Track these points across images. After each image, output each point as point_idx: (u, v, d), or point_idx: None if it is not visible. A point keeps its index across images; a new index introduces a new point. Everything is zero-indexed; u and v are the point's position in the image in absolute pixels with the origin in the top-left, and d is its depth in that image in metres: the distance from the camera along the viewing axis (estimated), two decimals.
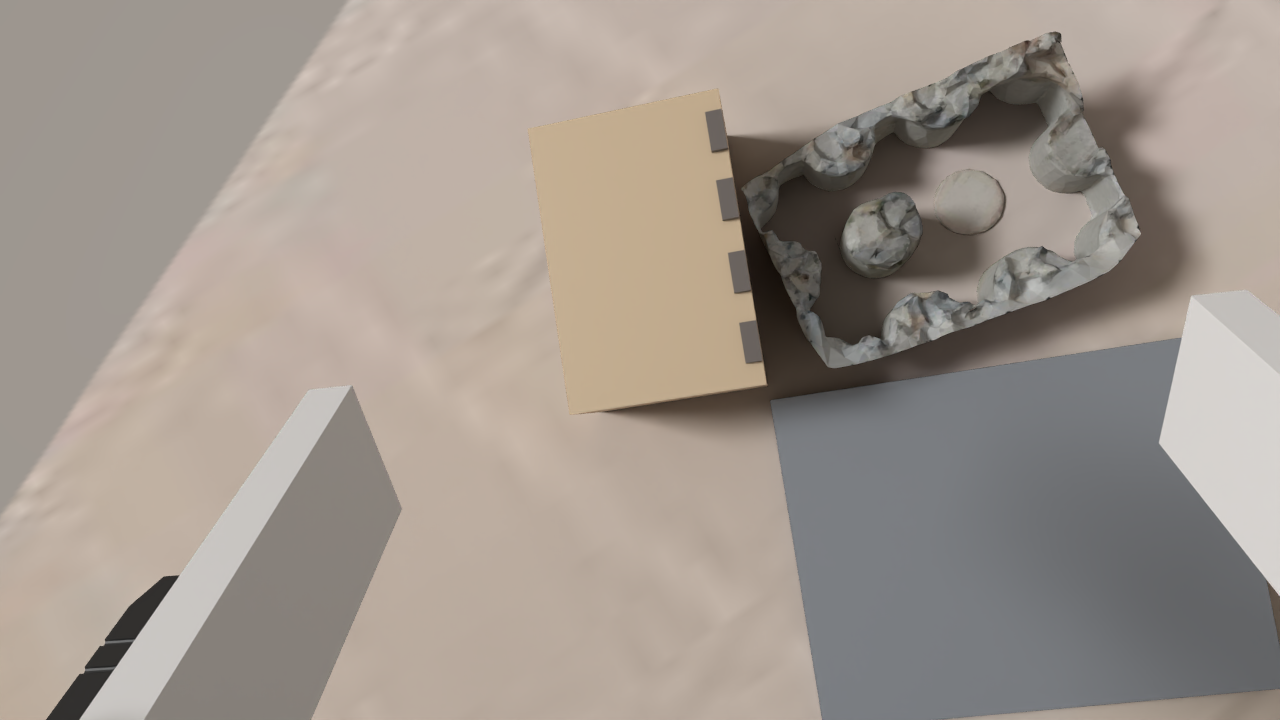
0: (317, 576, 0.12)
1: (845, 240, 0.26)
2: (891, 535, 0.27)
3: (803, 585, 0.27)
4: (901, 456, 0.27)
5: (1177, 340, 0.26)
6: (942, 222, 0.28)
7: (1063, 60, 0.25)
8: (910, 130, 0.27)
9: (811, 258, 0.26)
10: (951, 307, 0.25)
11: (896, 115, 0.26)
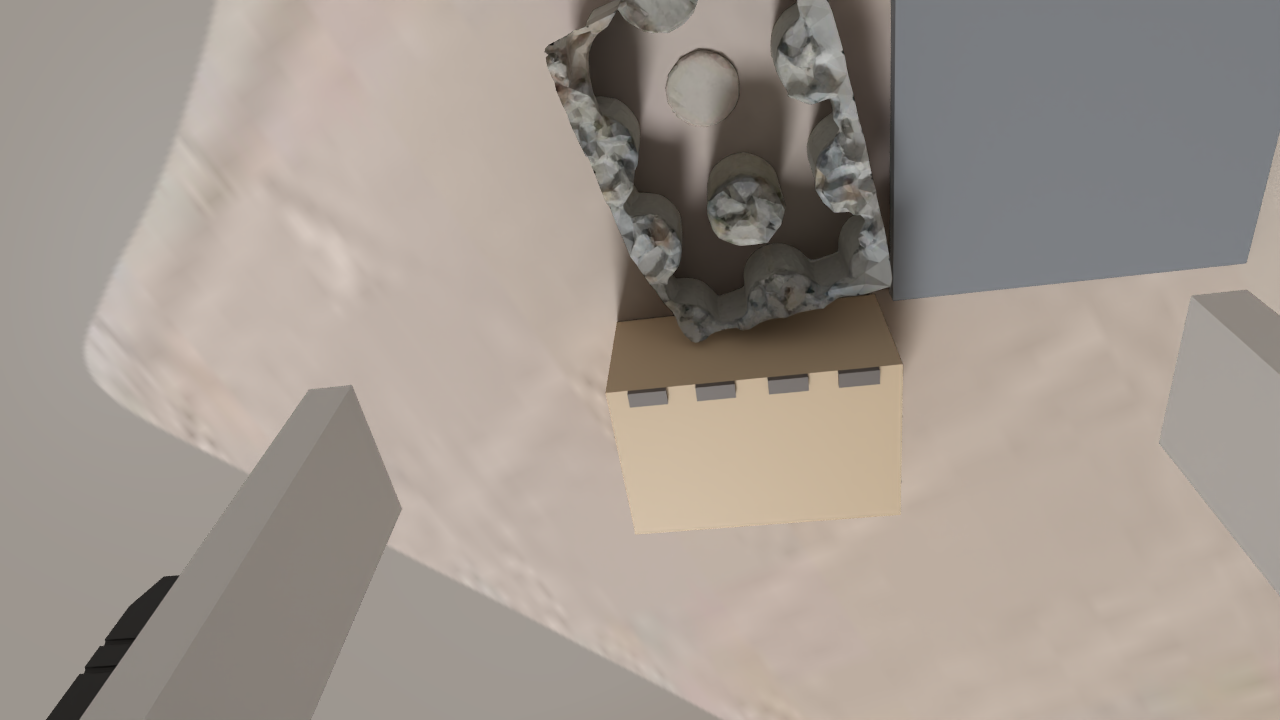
0: (317, 576, 0.12)
1: (749, 244, 0.26)
2: (1059, 192, 0.25)
3: (1090, 277, 0.27)
4: (976, 179, 0.25)
5: None
6: (723, 118, 0.25)
7: (571, 34, 0.22)
8: None
9: (769, 285, 0.26)
10: (838, 153, 0.23)
11: (624, 202, 0.24)
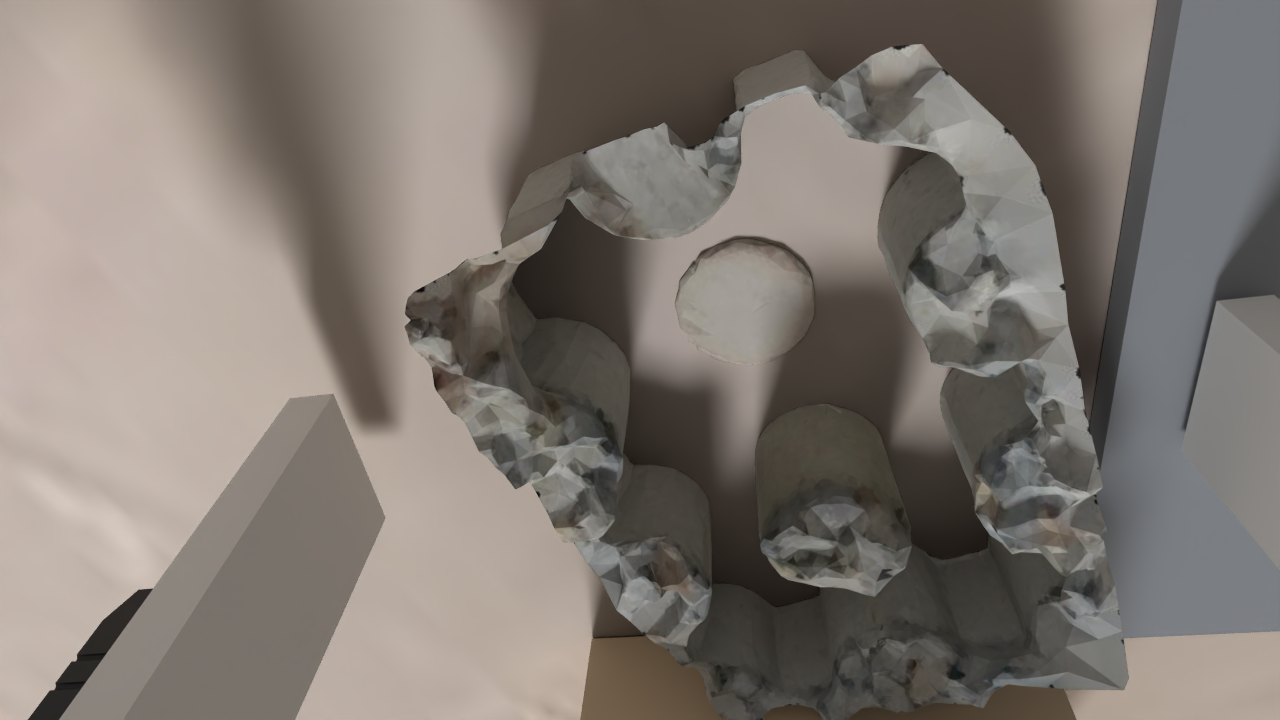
0: (295, 589, 0.12)
1: None
2: None
3: None
4: None
5: None
6: (785, 352, 0.14)
7: (464, 264, 0.10)
8: None
9: (877, 659, 0.14)
10: (1031, 463, 0.11)
11: (600, 536, 0.13)
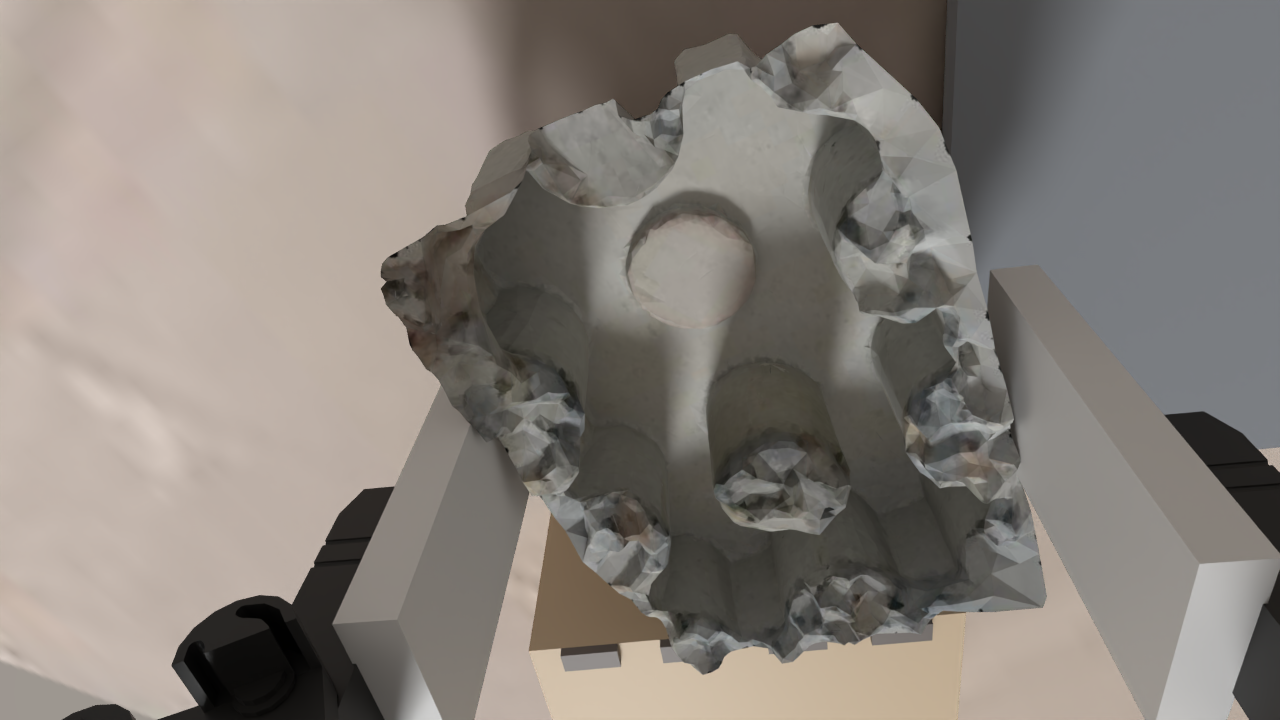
0: (495, 493, 0.13)
1: None
2: (1179, 344, 0.18)
3: None
4: None
5: None
6: (730, 315, 0.15)
7: (434, 232, 0.11)
8: None
9: (825, 595, 0.15)
10: (952, 401, 0.13)
11: (565, 489, 0.14)
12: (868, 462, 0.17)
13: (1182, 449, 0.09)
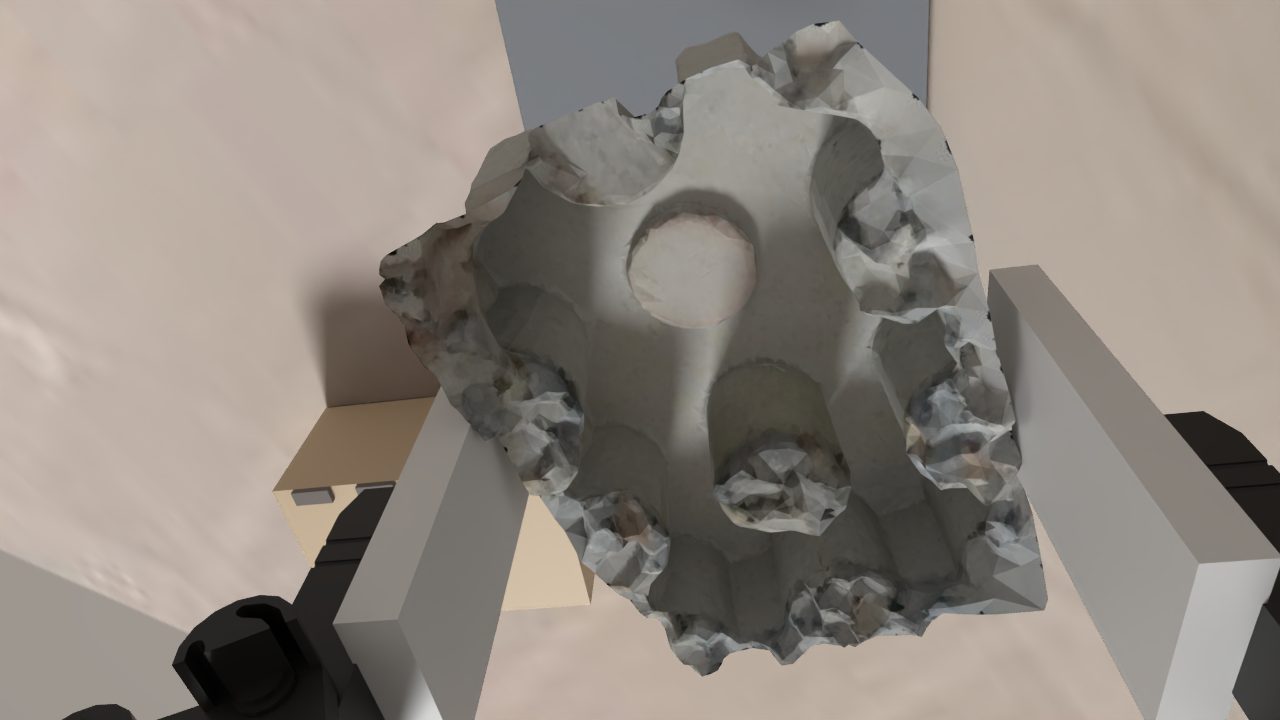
0: (495, 493, 0.13)
1: None
2: None
3: None
4: None
5: None
6: (731, 315, 0.15)
7: (433, 229, 0.11)
8: None
9: (825, 597, 0.15)
10: (953, 402, 0.13)
11: (564, 489, 0.14)
12: (869, 464, 0.17)
13: (1182, 449, 0.09)
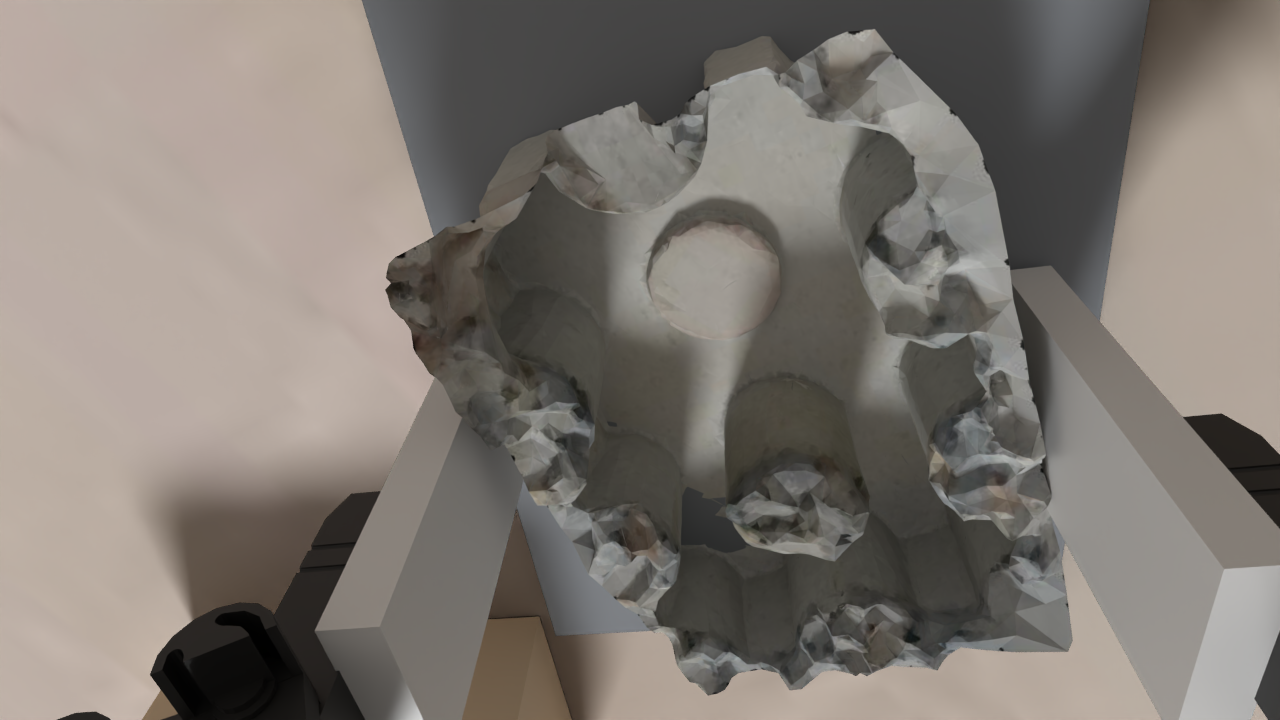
0: (484, 498, 0.13)
1: None
2: None
3: None
4: None
5: (386, 70, 0.12)
6: (753, 328, 0.14)
7: (443, 233, 0.10)
8: None
9: (837, 623, 0.14)
10: (980, 432, 0.12)
11: (572, 501, 0.13)
12: (892, 485, 0.16)
13: (1203, 452, 0.09)
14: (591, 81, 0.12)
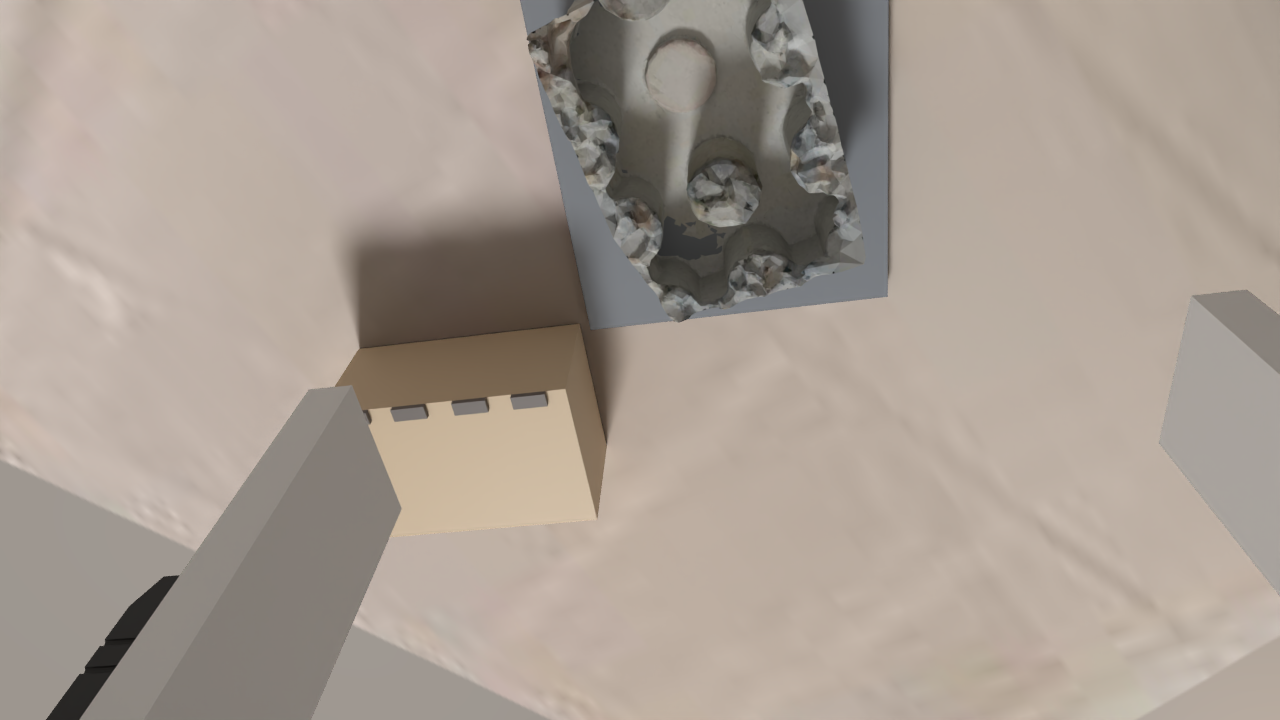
0: (317, 576, 0.12)
1: (728, 225, 0.26)
2: (712, 236, 0.29)
3: (756, 309, 0.30)
4: None
5: None
6: (702, 104, 0.26)
7: (552, 22, 0.22)
8: None
9: (748, 265, 0.26)
10: (811, 135, 0.24)
11: (607, 185, 0.25)
12: (783, 210, 0.28)
13: None
14: None
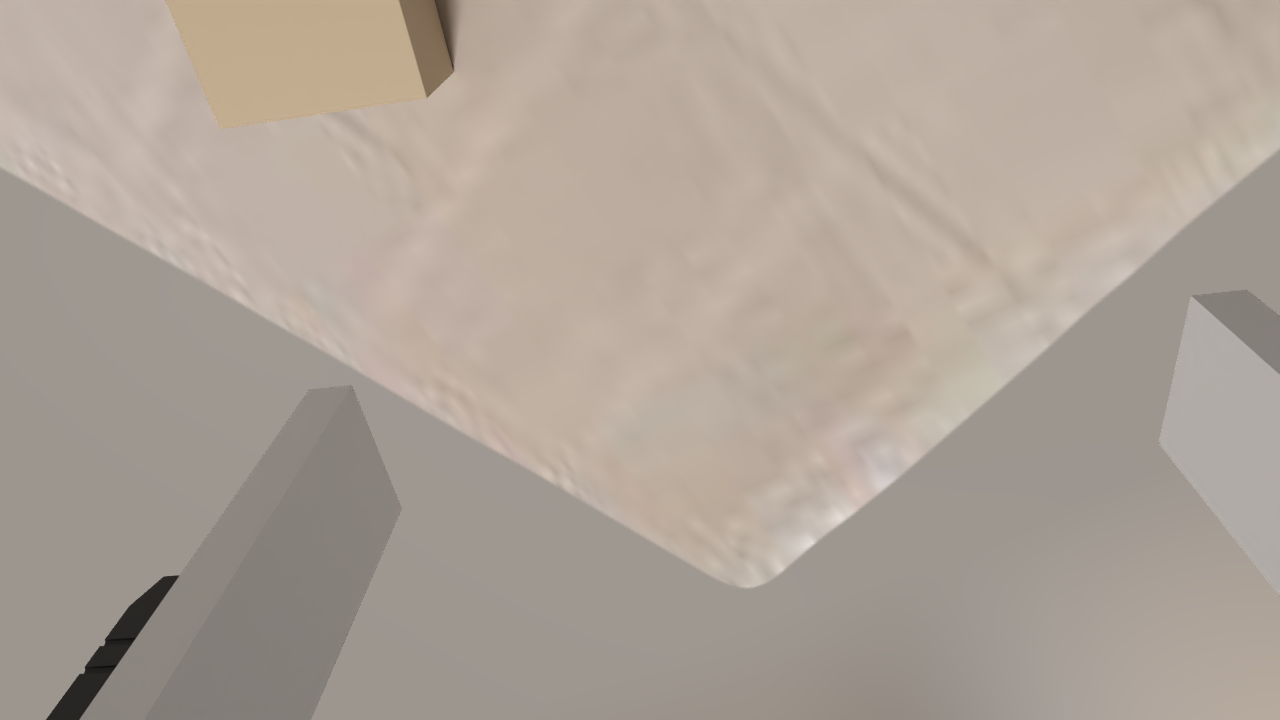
0: (317, 576, 0.12)
1: None
2: None
3: None
4: None
5: None
6: None
7: None
8: None
9: None
10: None
11: None
12: None
13: None
14: None
